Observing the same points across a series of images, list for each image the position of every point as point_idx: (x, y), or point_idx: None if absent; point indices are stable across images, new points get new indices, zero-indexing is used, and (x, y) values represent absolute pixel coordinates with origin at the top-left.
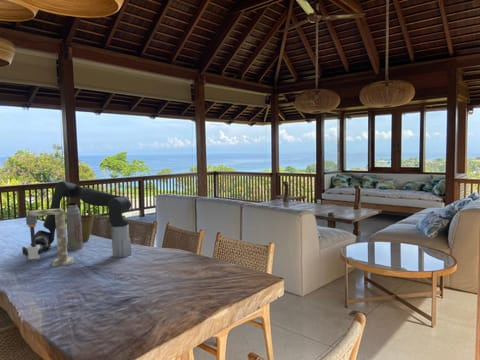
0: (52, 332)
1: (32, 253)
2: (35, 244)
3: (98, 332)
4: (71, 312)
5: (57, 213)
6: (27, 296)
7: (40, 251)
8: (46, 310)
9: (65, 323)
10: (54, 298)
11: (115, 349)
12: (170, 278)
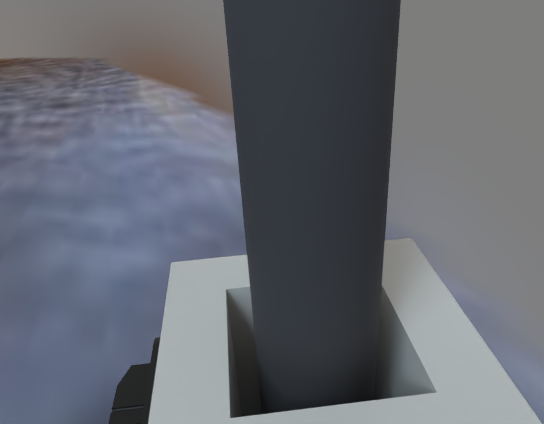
0: (119, 73)
1: None
2: (250, 286)
3: (40, 72)
4: (69, 95)
5: None
6: (198, 138)
7: (144, 377)
8: (129, 100)
9: (91, 81)
10: (102, 126)
11: (34, 61)
12: None
